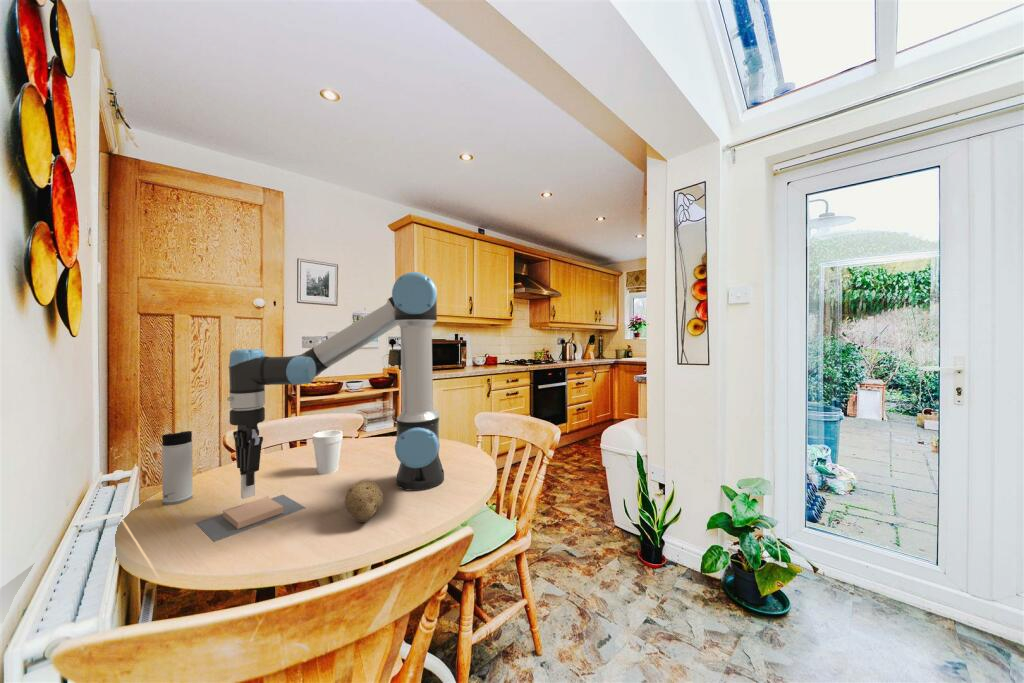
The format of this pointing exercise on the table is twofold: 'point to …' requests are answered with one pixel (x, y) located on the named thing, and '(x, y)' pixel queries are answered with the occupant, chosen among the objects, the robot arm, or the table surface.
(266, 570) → the table surface
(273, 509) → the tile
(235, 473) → the table surface
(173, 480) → the travel mug
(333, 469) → the foam cup
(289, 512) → the felt mat
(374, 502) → the natural sponge
